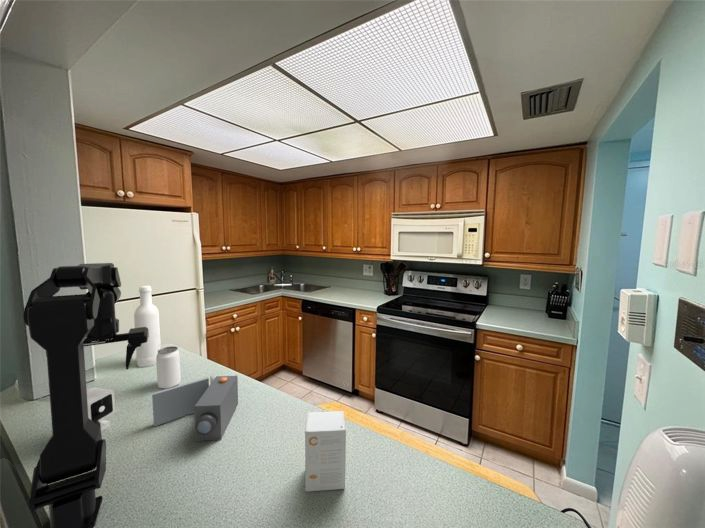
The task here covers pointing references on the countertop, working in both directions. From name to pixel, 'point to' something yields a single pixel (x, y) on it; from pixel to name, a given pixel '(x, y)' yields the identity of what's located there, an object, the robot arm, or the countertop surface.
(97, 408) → the security camera
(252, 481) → the countertop surface
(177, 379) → the can
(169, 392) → the side door
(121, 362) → the countertop surface
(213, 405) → the camera body
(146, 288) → the bottle
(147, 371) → the countertop surface
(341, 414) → the small box
